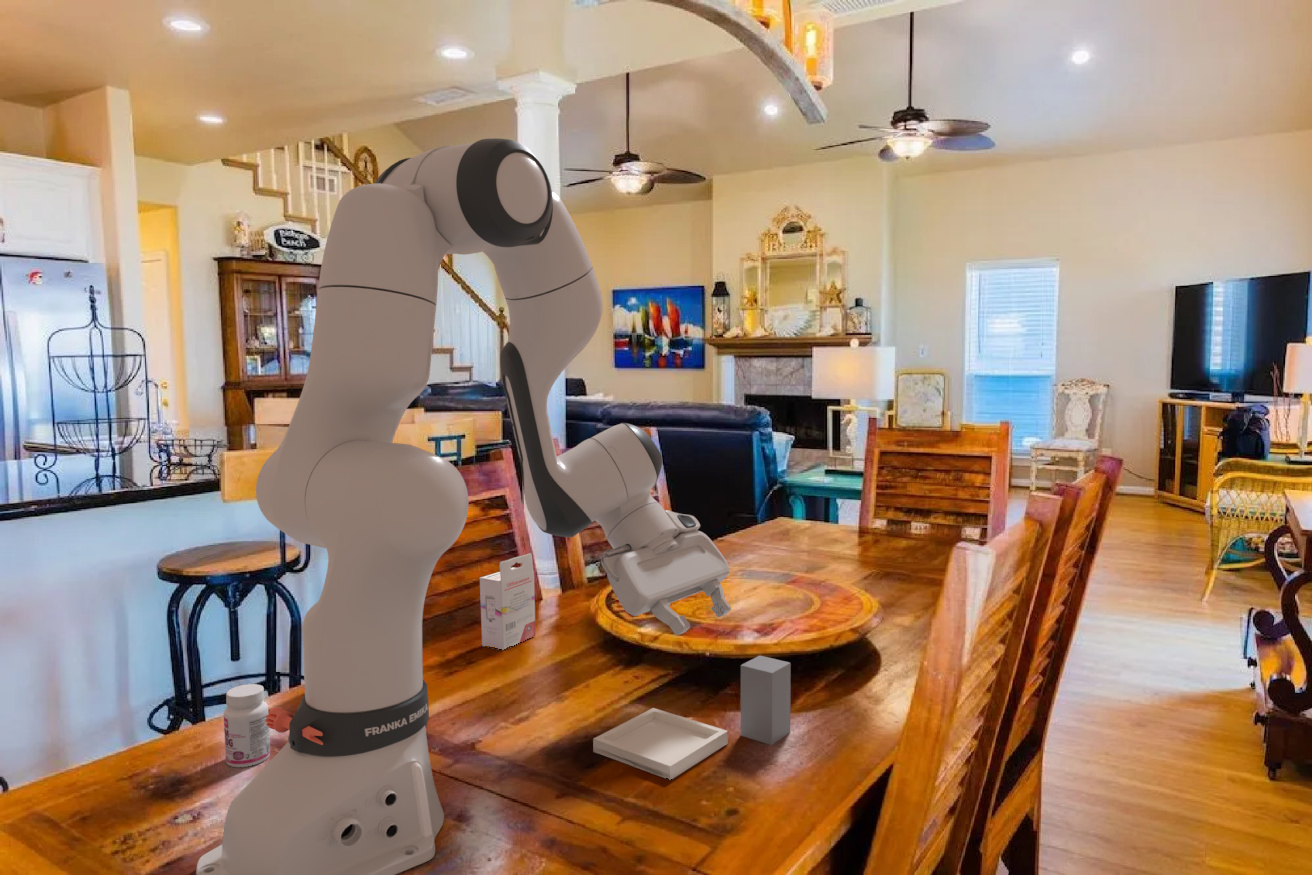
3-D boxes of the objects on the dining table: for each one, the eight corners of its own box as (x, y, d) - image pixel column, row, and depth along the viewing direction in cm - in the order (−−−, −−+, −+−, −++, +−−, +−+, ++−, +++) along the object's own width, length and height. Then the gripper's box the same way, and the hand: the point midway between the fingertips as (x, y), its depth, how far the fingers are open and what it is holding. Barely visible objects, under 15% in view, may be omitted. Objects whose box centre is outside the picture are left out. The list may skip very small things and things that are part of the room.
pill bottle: (216, 764, 99) (212, 694, 98) (250, 747, 103) (247, 680, 103) (245, 771, 97) (242, 700, 96) (279, 754, 101) (276, 685, 101)
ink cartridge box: (514, 632, 148) (512, 549, 146) (536, 637, 145) (535, 552, 144) (480, 646, 140) (477, 559, 139) (502, 651, 138) (500, 562, 136)
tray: (670, 780, 94) (670, 766, 94) (593, 751, 101) (593, 738, 101) (727, 743, 103) (727, 730, 103) (653, 719, 110) (653, 707, 110)
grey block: (771, 745, 103) (772, 673, 102) (740, 735, 106) (740, 665, 105) (790, 732, 106) (790, 662, 106) (759, 723, 109) (759, 655, 108)
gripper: (608, 538, 106) (671, 628, 101) (701, 514, 122) (760, 591, 117) (582, 568, 109) (642, 657, 104) (677, 541, 125) (733, 617, 120)
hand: (705, 622), depth 111 cm, fingers open, 8 cm apart
